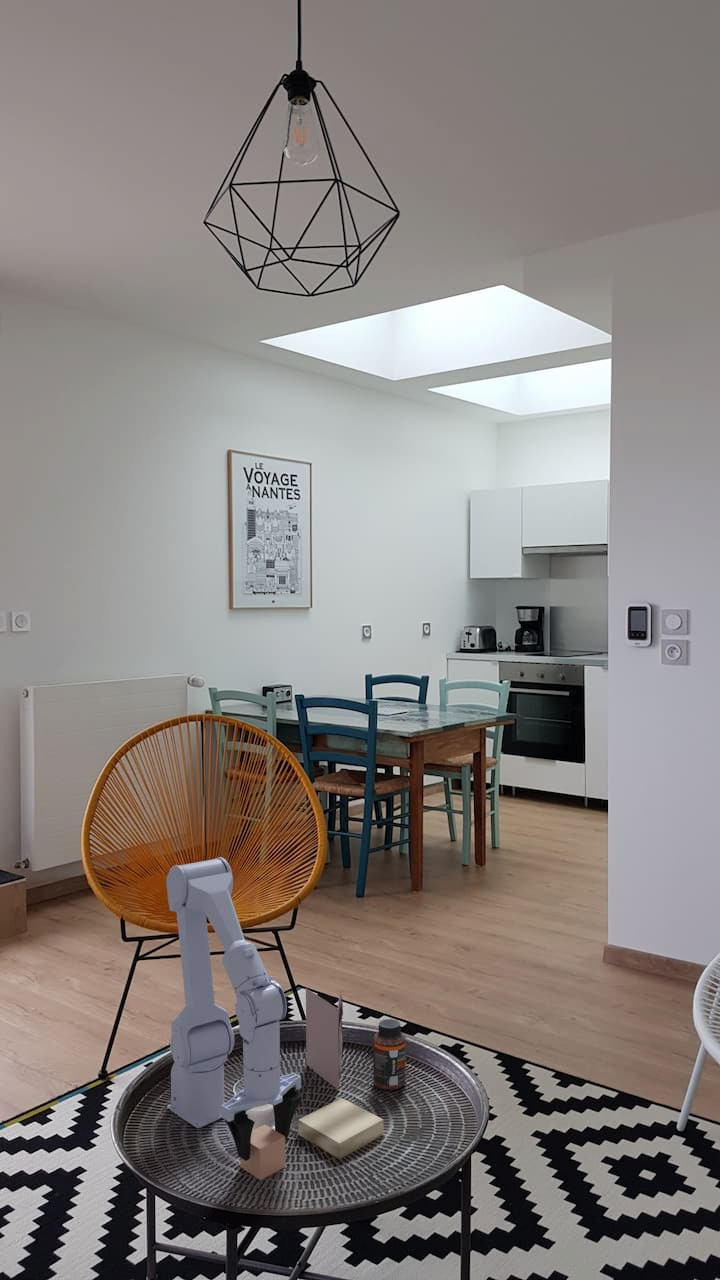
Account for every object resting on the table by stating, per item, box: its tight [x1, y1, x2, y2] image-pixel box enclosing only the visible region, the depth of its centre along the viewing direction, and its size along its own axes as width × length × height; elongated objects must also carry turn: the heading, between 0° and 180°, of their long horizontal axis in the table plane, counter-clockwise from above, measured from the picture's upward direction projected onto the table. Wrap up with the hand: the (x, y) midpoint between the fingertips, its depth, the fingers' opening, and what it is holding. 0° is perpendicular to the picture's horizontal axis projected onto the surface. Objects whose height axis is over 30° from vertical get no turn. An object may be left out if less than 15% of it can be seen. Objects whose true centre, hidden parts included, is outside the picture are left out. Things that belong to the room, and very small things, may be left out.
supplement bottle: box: [372, 1018, 407, 1091], centre depth 183 cm, size 6×6×11 cm
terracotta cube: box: [239, 1124, 286, 1181], centre depth 157 cm, size 5×5×5 cm
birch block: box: [297, 1097, 384, 1160], centre depth 166 cm, size 10×10×3 cm
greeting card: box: [305, 984, 344, 1091], centre depth 186 cm, size 11×7×15 cm, turn 178°
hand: (263, 1147), depth 157 cm, fingers open, 7 cm apart
